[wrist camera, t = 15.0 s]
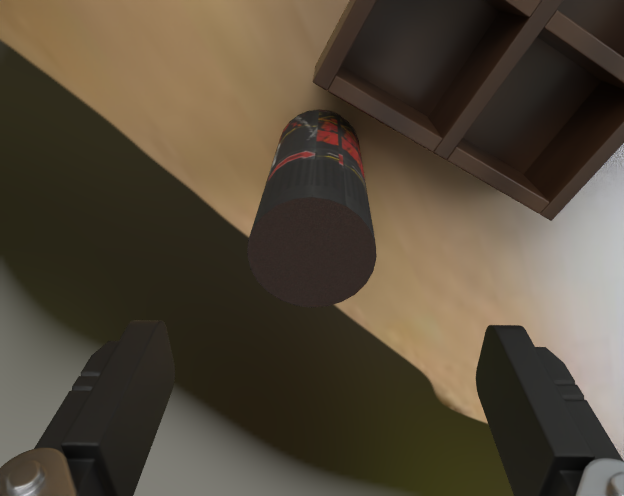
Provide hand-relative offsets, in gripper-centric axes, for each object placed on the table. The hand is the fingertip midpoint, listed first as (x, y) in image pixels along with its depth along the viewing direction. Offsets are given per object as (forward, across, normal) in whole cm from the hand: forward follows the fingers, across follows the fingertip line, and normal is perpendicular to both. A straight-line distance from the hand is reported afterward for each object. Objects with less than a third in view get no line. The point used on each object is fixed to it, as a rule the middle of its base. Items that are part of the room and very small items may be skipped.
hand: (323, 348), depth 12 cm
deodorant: (+25, 0, +3) cm, 25 cm away
